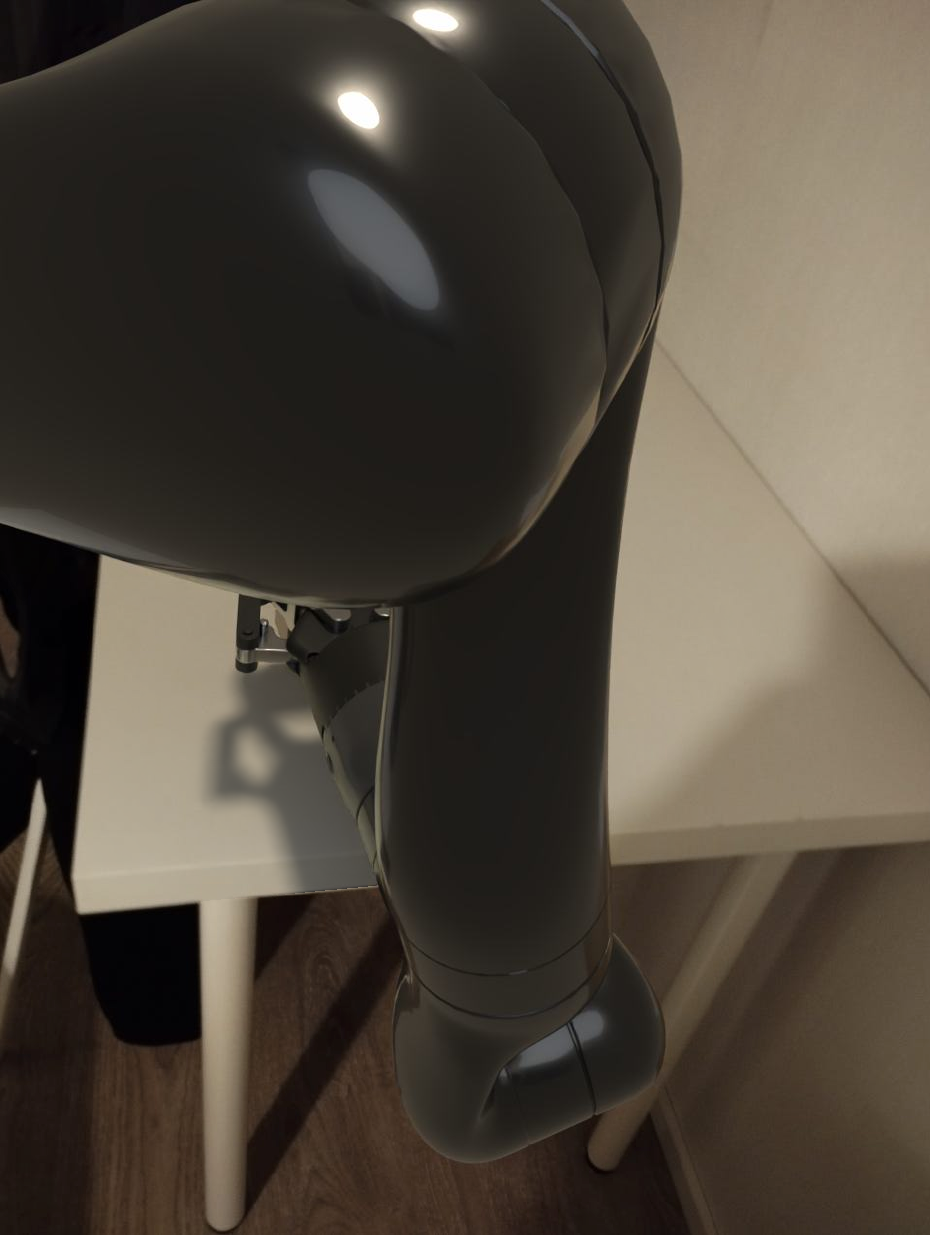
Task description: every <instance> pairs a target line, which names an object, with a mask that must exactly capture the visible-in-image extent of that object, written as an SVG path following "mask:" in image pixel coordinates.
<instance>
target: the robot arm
mask: <svg viewBox="0 0 930 1235" xmlns="http://www.w3.org/2000/svg"><path fill="white" fill-rule="evenodd" d="M681 147H682V146H681V143H680V137H679V132H678V127H677V121H676V116H675V111H674V105H673V101H672V96H671V94H670V90H669V88H668V86H667V83H666V80H665V78H664V75H663V73H662V70H661V67H660V65H659V63H658V61H657V58H656V55H655V53H654V50H653V48H652V46H651V42H650V40H649V39H648V38H647V36H646V35H645V32H644V31H643V30H642V29H641V27H640V25H639V24H638V22H637V20H636V19H635V18H634V16H633V14H632V12H631V11H630V9H629V8H628V6H627V5H626V4H625V2H624V0H197V1H195V2H191V3H187V4H184V5H182V6H180V7H177V8H175V9H173V10H171V11H168V12H166V13H165V14H162V15H160V16H158V17H156V18H153V19H151V20H149V21H147V22H144V23H143V24H141V25H139V26H137V27H134V28H132V29H131V30H129V31H126V32H124V33H122V34H120V35H118V36H116V37H113V38H112V39H110V40H108V41H106V42H104V43H102V44H101V45H97V46H96V47H93V48H92V49H89V50H88V51H86V52H83V53H82V54H79V55H77V56H73V57H72V58H70V59H67V60H65V61H63V62H61V63H58V64H56V65H53V66H50V67H48V68H46V69H42V70H41V71H38V72H36V73H33V74H31V75H27V76H24V77H21V78H18V79H15V80H11V81H8V82H3V83H1V84H0V524H2V525H5V526H8V527H13V528H15V529H19V530H22V531H25V532H28V533H32V534H35V535H38V536H41V537H44V538H48V539H51V540H54V541H57V542H60V543H63V544H67V545H70V546H73V547H76V548H80V549H82V550H86V551H88V552H91V553H95V554H97V555H98V554H99V555H102V556H105V557H108V558H111V559H114V560H117V561H121V562H124V563H128V564H132V565H134V566H138V567H141V568H144V569H148V570H151V571H154V572H158V573H161V574H165V575H168V576H171V577H175V578H179V579H181V580H185V581H188V582H191V583H196V584H199V585H203V586H206V587H210V588H214V589H218V590H221V591H226V592H229V593H234V594H238V599H237V600H238V601H237V614H236V618H237V619H236V632H235V657H234V668H235V669H236V670H237V671H238V672H239V673H243V674H251V673H254V672H256V671H257V670H258V667H259V663H272V664H273V663H274V664H285V665H286V667H287V669H288V670H289V671H290V672H291V673H293V674H294V675H296V676H297V678H299V680H300V682H301V684H302V687H303V690H304V694H305V697H306V700H307V701H308V706H309V708H310V711H311V714H312V716H313V720H314V722H315V725H316V727H317V731H318V734H319V737H320V740H321V743H322V746H323V748H324V751H325V759H326V763H327V766H328V770H329V773H330V775H331V776H332V778H334V781H335V783H336V786H337V789H338V791H339V793H340V796H341V798H342V800H343V802H344V804H345V806H346V808H347V810H348V812H349V813H350V815H351V817H352V818H353V821H354V823H355V825H356V827H357V830H358V833H359V836H360V839H361V841H362V845H363V847H364V850H365V854H366V856H367V859H368V862H369V865H370V867H371V868H370V869H371V871H372V874H373V876H374V879H375V882H376V884H377V888H378V891H379V892H380V895H381V898H382V900H383V904H384V906H385V908H386V910H387V912H388V914H389V916H390V918H391V919H392V921H393V922H394V925H395V927H396V932H397V934H398V937H399V941H400V944H401V947H402V949H403V954H404V955H403V962H402V966H401V969H400V973H399V976H398V979H397V980H398V981H397V984H396V990H395V995H394V1000H393V1004H392V1005H393V1006H392V1015H391V1030H390V1050H391V1061H392V1069H393V1076H394V1079H395V1085H396V1087H397V1091H398V1095H399V1098H400V1100H401V1104H402V1107H403V1109H404V1111H405V1114H406V1116H407V1118H408V1120H409V1122H410V1124H411V1125H412V1127H413V1128H414V1130H415V1131H416V1133H417V1134H418V1136H419V1137H420V1138H421V1140H423V1141H424V1143H426V1144H427V1146H428V1147H430V1148H431V1149H432V1150H434V1151H435V1152H437V1153H438V1154H440V1155H441V1156H442V1157H444V1158H447V1159H449V1160H452V1161H455V1162H457V1163H464V1164H484V1163H489V1162H494V1161H496V1160H499V1159H503V1158H506V1157H507V1156H510V1155H512V1154H514V1153H517V1152H518V1151H520V1150H523V1149H525V1148H527V1147H529V1146H530V1145H534V1144H535V1143H539V1142H540V1141H542V1140H545V1139H547V1138H549V1137H551V1136H554V1135H556V1134H558V1133H560V1132H562V1131H564V1130H567V1129H569V1128H571V1127H574V1126H576V1125H577V1124H581V1123H582V1122H585V1121H587V1120H589V1119H591V1118H593V1116H594V1115H595V1116H599V1115H601V1114H603V1113H606V1112H608V1111H610V1110H612V1109H614V1108H617V1107H619V1106H621V1105H623V1104H626V1103H627V1102H629V1101H632V1100H634V1099H636V1098H637V1097H639V1096H640V1095H642V1094H643V1093H645V1092H646V1091H648V1090H649V1089H650V1088H651V1087H652V1085H653V1084H654V1083H655V1081H656V1080H657V1078H658V1076H659V1074H660V1072H661V1069H662V1068H663V1064H664V1059H665V1053H666V1047H667V1044H666V1042H667V1039H666V1038H667V1036H666V1034H667V1033H666V1023H665V1022H666V1021H665V1018H664V1012H663V1009H662V1004H661V1002H660V999H659V997H658V994H657V992H656V989H655V987H654V985H653V983H652V981H651V979H650V977H649V975H648V974H647V972H646V970H645V968H644V967H643V966H642V965H641V964H640V962H639V960H638V959H637V957H636V956H635V954H634V953H633V952H632V950H630V948H629V947H628V946H627V945H626V943H624V941H623V940H622V939H621V937H620V936H618V934H617V933H616V932H615V931H614V921H613V919H614V918H613V882H612V881H613V880H612V879H613V878H612V855H611V835H610V833H611V832H610V808H609V807H610V806H609V804H610V803H609V733H610V732H609V731H610V730H609V728H610V727H609V725H610V724H609V723H610V722H609V721H610V695H611V694H610V692H611V689H610V688H611V668H612V666H611V665H612V650H613V649H612V646H613V630H614V628H613V627H614V615H615V603H616V602H615V601H616V590H617V579H618V569H619V559H620V552H621V543H622V535H623V533H622V532H623V524H624V517H625V510H626V500H627V495H628V486H629V478H630V471H631V464H632V458H633V454H634V448H635V442H636V437H637V432H638V427H639V420H640V416H641V410H642V405H643V401H644V396H645V390H646V386H647V381H648V380H647V379H648V377H649V376H648V375H649V372H650V371H649V370H650V364H651V360H652V355H653V350H654V345H655V340H656V336H657V331H658V327H659V323H660V322H659V321H660V317H661V312H662V307H663V304H664V298H665V292H666V289H667V286H668V285H669V284H668V283H669V281H670V276H671V274H672V268H673V264H674V259H675V255H676V250H677V245H678V240H679V232H680V225H681V220H682V212H683V211H682V209H683V208H682V207H683V193H684V171H683V170H684V167H683V166H684V165H683V154H682V148H681ZM269 604H270V605H271V606H273V608H274V609H275V610H276V609H277V610H278V611H279V613H280V614H281V615H282V616H283V617H284V618H285V620H286V624H287V627H288V628H289V630H290V631H291V633H290V634H289V636H288V637H287V639H282V638H280V636H279V635H277V634H276V630H275V628H274V627H273V626H271V625H270V624H269V622H270V621H269V620H268V619H267V618H264V617H263V618H261V609H262V607H263V606H266V605H269Z"/></svg>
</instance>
